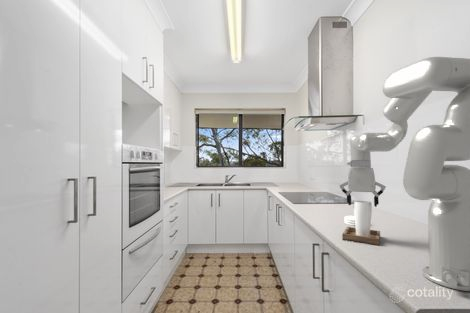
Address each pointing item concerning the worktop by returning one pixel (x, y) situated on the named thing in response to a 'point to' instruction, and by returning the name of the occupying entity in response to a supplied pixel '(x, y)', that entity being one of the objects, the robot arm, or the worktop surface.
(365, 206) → the white tall cup
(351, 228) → the tray
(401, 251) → the worktop surface
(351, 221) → the white cup lid
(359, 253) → the worktop surface
